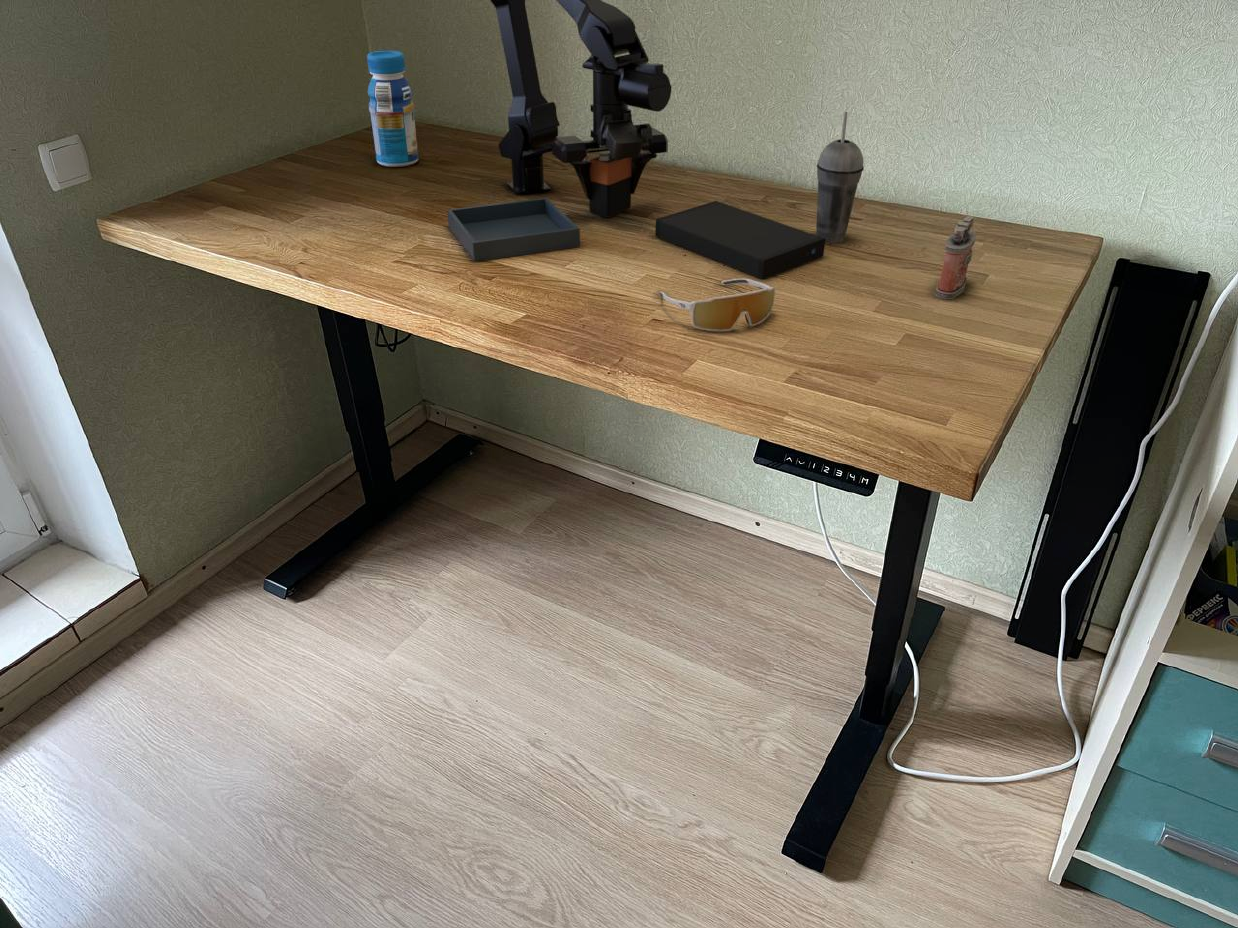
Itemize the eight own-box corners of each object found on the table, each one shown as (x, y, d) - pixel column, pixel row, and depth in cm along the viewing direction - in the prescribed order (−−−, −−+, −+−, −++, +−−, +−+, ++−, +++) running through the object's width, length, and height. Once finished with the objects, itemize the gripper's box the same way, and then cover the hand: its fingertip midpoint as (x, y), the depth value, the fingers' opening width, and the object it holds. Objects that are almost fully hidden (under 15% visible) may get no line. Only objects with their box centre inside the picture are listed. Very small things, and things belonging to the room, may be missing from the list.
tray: (448, 227, 158) (447, 209, 156) (547, 214, 163) (546, 197, 162) (474, 261, 145) (472, 243, 144) (580, 247, 151) (579, 228, 149)
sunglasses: (697, 340, 123) (696, 302, 121) (647, 310, 136) (646, 276, 134) (790, 322, 128) (791, 285, 126) (734, 295, 141) (735, 261, 138)
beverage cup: (857, 234, 157) (877, 108, 146) (847, 249, 151) (866, 118, 140) (814, 227, 159) (830, 102, 148) (802, 241, 154) (817, 113, 143)
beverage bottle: (368, 161, 189) (353, 53, 178) (404, 153, 193) (392, 47, 182) (390, 171, 184) (377, 60, 172) (428, 162, 188) (417, 54, 177)
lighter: (954, 300, 135) (969, 232, 129) (930, 295, 136) (944, 227, 131) (969, 282, 140) (985, 215, 135) (947, 277, 142) (960, 211, 136)
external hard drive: (716, 217, 163) (717, 200, 161) (823, 256, 148) (826, 238, 147) (655, 237, 155) (655, 219, 153) (762, 280, 140) (764, 260, 139)
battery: (632, 208, 165) (633, 150, 160) (608, 219, 161) (608, 159, 155) (611, 203, 168) (612, 145, 162) (588, 213, 163) (587, 154, 157)
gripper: (573, 118, 145) (575, 218, 154) (684, 107, 151) (679, 204, 160) (549, 101, 153) (552, 197, 162) (655, 92, 159) (652, 185, 168)
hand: (610, 196), depth 163 cm, fingers closed on battery, 7 cm apart
